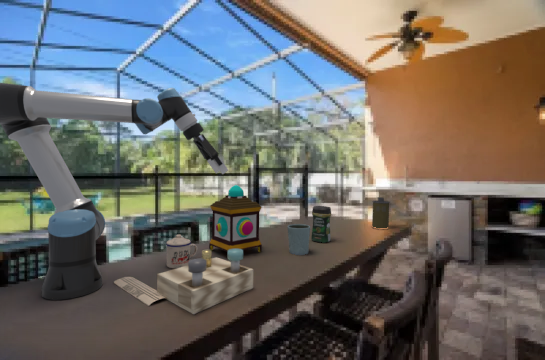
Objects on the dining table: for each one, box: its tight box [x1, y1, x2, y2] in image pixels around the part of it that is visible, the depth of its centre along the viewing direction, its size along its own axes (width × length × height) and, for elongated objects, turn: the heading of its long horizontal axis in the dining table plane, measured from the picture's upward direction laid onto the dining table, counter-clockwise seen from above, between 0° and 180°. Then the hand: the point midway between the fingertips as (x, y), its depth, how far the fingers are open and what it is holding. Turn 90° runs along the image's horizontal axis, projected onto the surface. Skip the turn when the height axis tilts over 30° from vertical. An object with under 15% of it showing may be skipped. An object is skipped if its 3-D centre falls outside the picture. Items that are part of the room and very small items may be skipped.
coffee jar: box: [311, 205, 332, 244], centre depth 152 cm, size 10×8×19 cm
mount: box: [156, 256, 254, 315], centre depth 88 cm, size 22×18×6 cm
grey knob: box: [188, 258, 206, 286], centre depth 79 cm, size 5×5×6 cm
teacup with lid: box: [165, 234, 198, 269], centre depth 112 cm, size 12×9×12 cm
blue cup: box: [286, 223, 311, 256], centre depth 131 cm, size 10×10×12 cm
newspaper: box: [113, 276, 167, 307], centre depth 87 cm, size 24×7×2 cm, turn 50°
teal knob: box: [226, 249, 244, 273], centre depth 90 cm, size 5×5×6 cm
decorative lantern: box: [208, 184, 263, 253], centre depth 130 cm, size 20×20×30 cm
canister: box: [371, 196, 391, 228], centre depth 188 cm, size 11×10×20 cm
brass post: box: [201, 248, 213, 268], centre depth 93 cm, size 3×3×5 cm
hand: (222, 172), depth 117 cm, fingers open, 13 cm apart
